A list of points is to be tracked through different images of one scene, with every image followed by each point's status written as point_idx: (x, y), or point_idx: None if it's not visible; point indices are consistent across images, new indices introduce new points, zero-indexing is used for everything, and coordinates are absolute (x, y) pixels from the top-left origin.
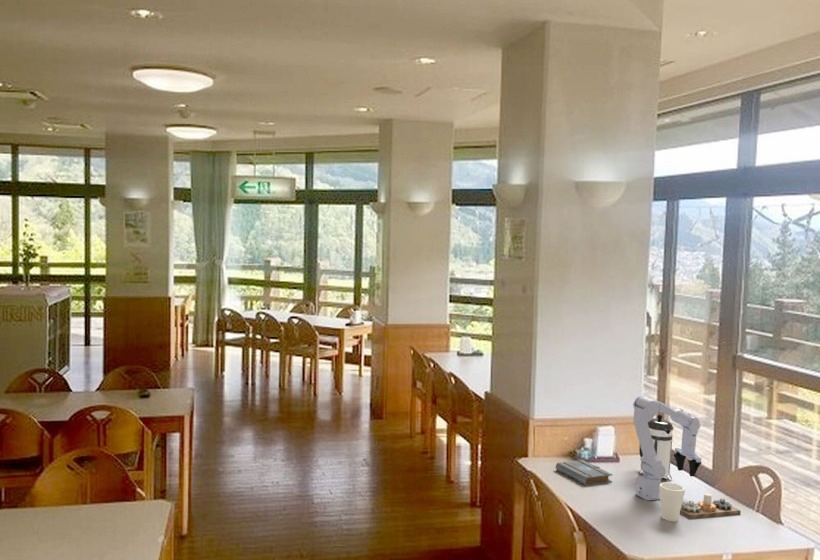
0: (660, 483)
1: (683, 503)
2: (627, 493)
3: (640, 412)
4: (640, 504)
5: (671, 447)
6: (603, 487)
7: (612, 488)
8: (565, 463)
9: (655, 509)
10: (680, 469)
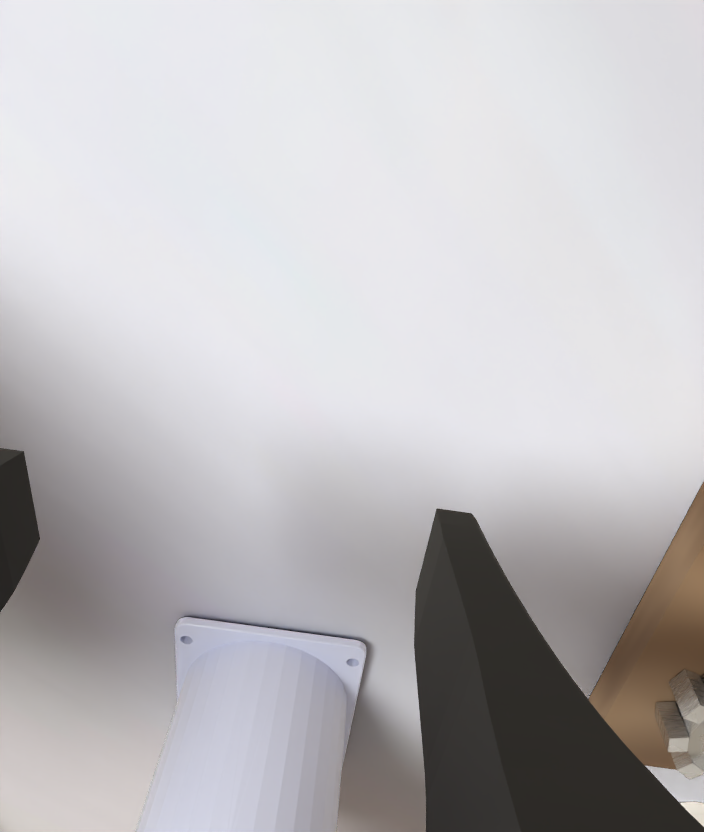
0: (313, 818)
1: (675, 749)
2: None
3: None
4: (387, 820)
5: None
6: (19, 809)
7: (43, 781)
8: None
9: None
10: (21, 522)
